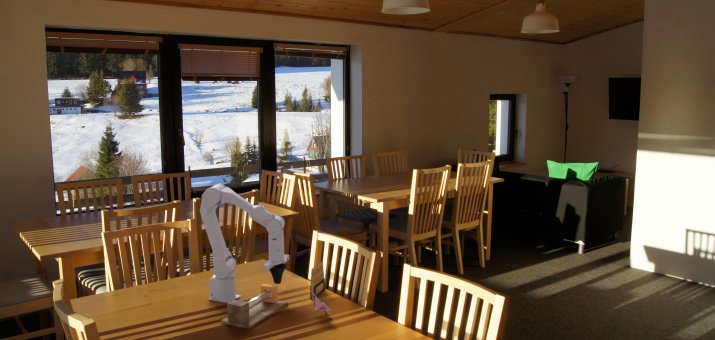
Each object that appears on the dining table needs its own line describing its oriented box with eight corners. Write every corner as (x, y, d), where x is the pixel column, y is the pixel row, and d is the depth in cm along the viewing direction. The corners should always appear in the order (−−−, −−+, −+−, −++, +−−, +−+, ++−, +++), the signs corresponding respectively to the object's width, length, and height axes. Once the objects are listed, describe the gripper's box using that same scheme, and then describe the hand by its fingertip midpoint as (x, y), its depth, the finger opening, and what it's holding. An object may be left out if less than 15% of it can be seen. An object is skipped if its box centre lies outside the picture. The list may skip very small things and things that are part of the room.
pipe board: (221, 323, 205) (220, 302, 204) (260, 300, 226) (260, 281, 225) (249, 328, 200) (249, 307, 199) (287, 304, 221) (287, 285, 220)
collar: (261, 300, 221) (260, 285, 221) (264, 299, 223) (263, 283, 222) (275, 303, 219) (274, 287, 218) (278, 301, 221) (277, 285, 220)
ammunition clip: (314, 299, 226) (313, 269, 225) (310, 298, 227) (309, 268, 225) (325, 290, 236) (324, 261, 235) (321, 289, 237) (320, 260, 235)
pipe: (238, 312, 206) (238, 305, 206) (268, 295, 222) (267, 288, 222) (245, 313, 205) (244, 306, 205) (273, 296, 221) (273, 289, 221)
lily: (330, 328, 202) (340, 301, 204) (297, 316, 201) (308, 289, 203) (328, 325, 213) (338, 300, 215) (297, 313, 213) (308, 288, 215)
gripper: (274, 254, 215) (276, 290, 217) (295, 244, 228) (296, 278, 230) (258, 252, 218) (259, 288, 220) (279, 242, 231) (281, 276, 233)
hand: (277, 283), depth 225 cm, fingers closed
